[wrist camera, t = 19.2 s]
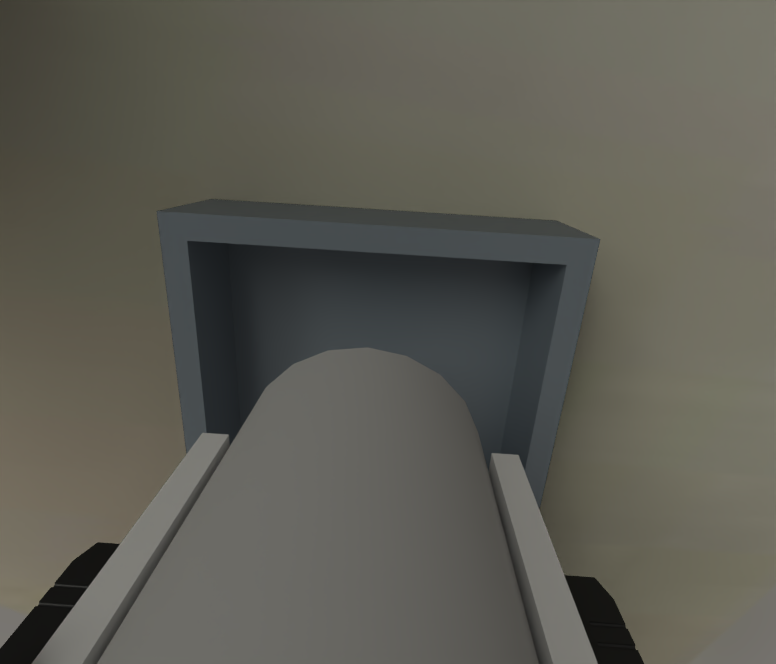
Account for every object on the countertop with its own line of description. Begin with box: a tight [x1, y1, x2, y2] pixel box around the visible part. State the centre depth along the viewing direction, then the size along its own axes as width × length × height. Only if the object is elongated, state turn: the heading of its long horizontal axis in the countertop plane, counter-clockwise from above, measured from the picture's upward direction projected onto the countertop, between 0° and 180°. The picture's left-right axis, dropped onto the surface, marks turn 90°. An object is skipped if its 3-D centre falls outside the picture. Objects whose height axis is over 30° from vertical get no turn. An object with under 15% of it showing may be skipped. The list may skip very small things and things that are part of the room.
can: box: [97, 347, 539, 664], centre depth 10 cm, size 8×8×12 cm
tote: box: [157, 199, 600, 509], centre depth 23 cm, size 24×16×5 cm, turn 177°
